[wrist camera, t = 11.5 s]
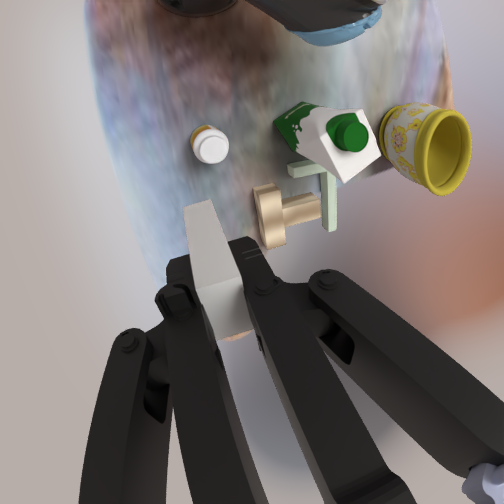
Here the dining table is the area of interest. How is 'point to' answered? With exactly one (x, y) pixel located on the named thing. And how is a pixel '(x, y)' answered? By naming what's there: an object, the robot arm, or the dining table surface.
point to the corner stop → (326, 189)
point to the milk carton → (330, 138)
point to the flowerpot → (427, 145)
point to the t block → (282, 213)
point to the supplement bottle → (209, 144)
